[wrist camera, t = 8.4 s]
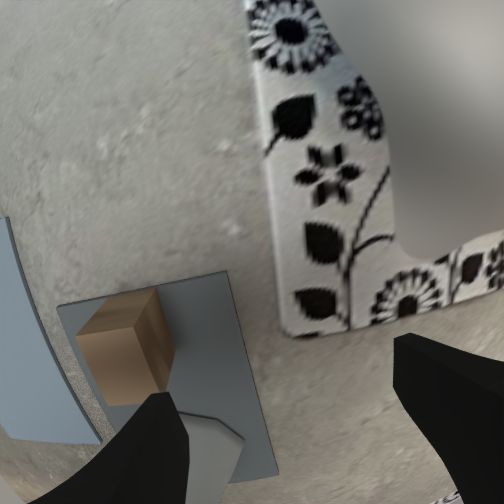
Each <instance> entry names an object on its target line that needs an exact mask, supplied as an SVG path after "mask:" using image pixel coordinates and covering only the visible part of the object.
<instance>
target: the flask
mask: <svg viewBox="0 0 504 504" xmlns="http://www.w3.org/2000/svg"><path fill="white" fill-rule="evenodd" d="M179 415H180V417H181V420H182V422H183V424H184V426H185V428H186V430H187V432H188V435H189V447H190V466H189V475H188V484H187V493H186V502H185V504H219V503H220V501H221V499H222V496H223V494H224V491H225V489H226V487H227V485H228V483H229V480H230V478H231V476H232V474H233V471H234V469H235V466H236V464H237V461H238V459H239V456H240V453H241V451H242V448H243V445H244V442H245V441H244V440H243V439H242V438H240V437H239V436H238V435H236V434H235V433H234V432H232V431H231V430H230V429H228V428H227V427H226V426H224V425H223V424H222V423H220V422H219V421H218V420H212V419H206V418H200V417H195V416H189V415H184V414H179Z"/></svg>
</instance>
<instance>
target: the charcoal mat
mask: <svg viewBox="0 0 504 504" xmlns="http://www.w3.org/2000/svg"><path fill="white" fill-rule="evenodd" d="M56 310H57V313H58V315H59V318H60V320H61V323H62V325H63V328H64V330H65V333H66V335H67V338H68V340H69V342H70V345H71V347H72V349H73V351H74V354H75V356H76V358H77V360H78V362H79V365H80V367H81V369H82V371H83V373H84V375H85V377H86V379H87V381H88V383H89V385H90V387H91V389H92V391H93V393H94V395H95V397H96V399H97V400H98V402H99V404H100V406H101V408H102V410H103V411H104V413H105V415H106V417H107V418H108V420H109V422H110V424H111V425H112V427H113V429H114V430H115V432H116V434H117V433H118V432H119V431H120V430H121V429H122V427H123V426H124V425H125V424H126V423H127V421H128V420H129V419H130V418H131V417H132V416H133V414H134V413H135V412H136V411H137V409H138V408H139V407H140V406H141V405H142V403H143V402H144V401H145V400H146V399H147V398H148V397H149V395H150V394H153V393H161V392H168V391H169V393H170V395H171V397H172V400H173V402H174V404H175V406H176V409H177V411H178V413H179V414H184V415H189V416H195V417H200V418H206V419H212V420H218V421H219V422H220V423H222V424H223V425H224V426H226V427H227V428H228V429H230V430H231V431H232V432H234V433H235V434H236V435H238V436H239V437H240V438H242V439H243V440H244V441H245V442H244V445H243V448H242V451H241V453H240V456H239V459H238V461H237V464H236V466H235V469H234V471H233V474H232V476H231V478H230V480H229V483H237V482H244V481H250V480H256V479H262V478H267V477H272V476H277V475H279V471H278V468H277V465H276V461H275V457H274V454H273V450H272V447H271V443H270V440H269V436H268V432H267V429H266V425H265V422H264V418H263V414H262V410H261V407H260V403H259V399H258V396H257V392H256V388H255V384H254V380H253V377H252V373H251V369H250V365H249V361H248V357H247V353H246V349H245V346H244V342H243V338H242V334H241V330H240V326H239V322H238V318H237V314H236V310H235V305H234V301H233V297H232V293H231V289H230V285H229V281H228V276H227V272H226V271H221V272H217V273H212V274H207V275H203V276H198V277H193V278H189V279H184V280H180V281H175V282H170V283H165V284H161V285H156V286H151V287H147V288H142V289H137V290H132V291H127V292H123V293H118V294H113V295H108V296H103V297H98V298H94V299H89V300H84V301H79V302H74V303H69V304H64V305H59V306H57V307H56ZM229 483H228V484H229Z"/></svg>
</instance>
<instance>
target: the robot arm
mask: <svg viewBox="0 0 504 504" xmlns="http://www.w3.org/2000/svg"><path fill="white" fill-rule="evenodd" d="M393 388H394V390H395V392H396V394H397V396H398V398H399V400H400V401H401V403H402V405H403V407H404V409H405V410H406V412H407V413H408V414H409V416H410V417H411V418H412V420H413V421H414V422H415V424H416V425H417V426H418V428H419V429H420V430H421V432H422V433H423V434H424V436H425V437H426V438H427V440H428V441H429V442H430V444H431V445H432V446H433V448H434V449H435V450H436V452H437V453H438V455H439V456H440V458H441V459H442V461H443V463H444V464H445V466H446V468H447V470H448V472H449V474H450V476H451V477H452V479H453V481H454V483H455V485H456V487H457V490H458V492H459V494H460V496H461V498H462V500H463V503H464V504H504V362H503V361H498V360H493V359H490V358H486V357H482V356H478V355H475V354H472V353H468V352H465V351H462V350H459V349H456V348H453V347H450V346H448V345H445V344H442V343H439V342H436V341H434V340H431V339H428V338H425V337H422V336H419V335H416V334H413V333H408V334H405V335H402V336H399V337H396V338H394V366H393ZM189 466H190V447H189V435H188V432H187V430H186V428H185V426H184V424H183V422H182V420H181V417H180V415H179V413H178V411H177V409H176V406H175V404H174V402H173V400H172V397H171V395H170V393H169V391H168V392H161V393H153V394H150V395H149V397H148V398H147V399H146V400H145V401H144V402H143V403H142V405H141V406H140V407H139V408H138V409H137V411H136V412H135V413H134V414H133V416H132V417H131V418H130V419H129V420H128V421H127V423H126V424H125V425H124V426H123V427H122V429H121V430H120V431H119V432H118V433H117V434H116V435H115V436H114V438H113V439H112V440H111V441H110V442H109V443H108V444H107V445H106V446H105V447H104V448H103V449H102V450H101V451H100V452H99V453H98V454H97V455H96V456H95V457H94V458H93V459H92V460H91V461H90V462H89V463H88V464H86V465H85V466H84V467H83V468H82V469H80V470H79V471H78V472H77V473H76V474H74V475H73V476H72V477H70V478H69V479H68V480H66V481H65V482H63V483H62V484H60V485H59V486H57V487H56V488H54V489H53V490H51V491H50V492H48V493H47V494H45V495H43V496H41V497H39V498H38V499H36V500H34V501H32V502H30V503H28V504H185V502H186V493H187V484H188V475H189Z"/></svg>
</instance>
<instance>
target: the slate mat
mask: <svg viewBox="0 0 504 504" xmlns="http://www.w3.org/2000/svg"><path fill="white" fill-rule="evenodd" d="M0 424H1V425H2V427H3V428H4V430H5V431H6V433H7V434H8V436H9V437H10V438H12V439H20V440H29V441H40V442H53V443H70V444H101V443H102V439H101V438H100V436H99V435H98V433H97V432H96V430H95V428H94V427H93V425H92V423H91V422H90V420H89V418H88V417H87V415H86V413H85V412H84V410H83V408H82V406H81V405H80V403H79V401H78V399H77V397H76V396H75V394H74V392H73V390H72V388H71V386H70V384H69V382H68V380H67V378H66V376H65V374H64V372H63V370H62V368H61V366H60V364H59V362H58V360H57V358H56V356H55V354H54V351H53V349H52V347H51V345H50V343H49V340H48V338H47V336H46V333H45V331H44V328H43V326H42V323H41V321H40V318H39V316H38V313H37V311H36V308H35V305H34V303H33V300H32V297H31V294H30V292H29V289H28V286H27V283H26V280H25V277H24V273H23V270H22V267H21V264H20V260H19V257H18V253H17V250H16V246H15V242H14V239H13V235H12V231H11V227H10V222H9V218H8V217H4V218H2V219H0Z"/></svg>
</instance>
